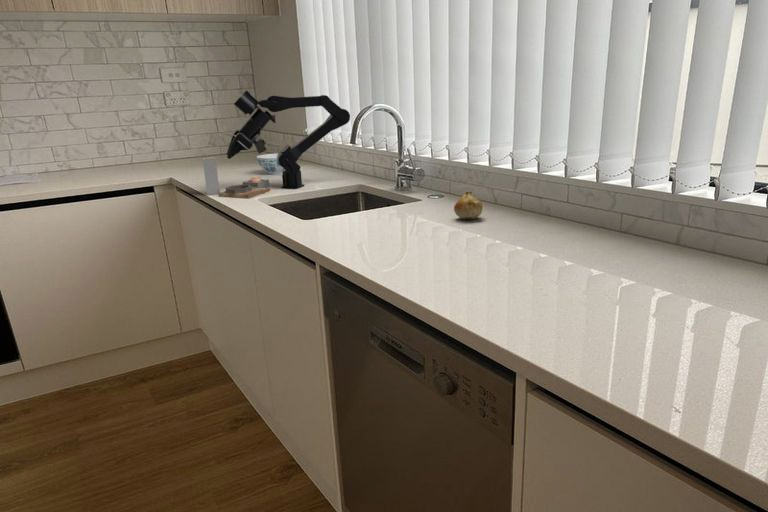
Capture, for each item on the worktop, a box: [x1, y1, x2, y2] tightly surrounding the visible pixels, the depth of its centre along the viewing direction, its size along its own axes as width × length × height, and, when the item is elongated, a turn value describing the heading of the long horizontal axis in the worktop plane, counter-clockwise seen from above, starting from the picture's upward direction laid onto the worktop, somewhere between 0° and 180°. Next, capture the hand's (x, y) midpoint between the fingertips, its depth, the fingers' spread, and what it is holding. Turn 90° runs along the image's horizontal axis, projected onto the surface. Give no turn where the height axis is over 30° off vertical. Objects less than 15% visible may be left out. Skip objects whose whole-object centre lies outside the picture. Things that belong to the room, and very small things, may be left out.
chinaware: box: [256, 153, 285, 176], centre depth 250 cm, size 15×15×8 cm
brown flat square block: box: [218, 184, 271, 199], centre depth 207 cm, size 13×13×3 cm
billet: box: [202, 156, 221, 196], centre depth 208 cm, size 4×4×13 cm
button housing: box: [242, 178, 270, 188], centre depth 219 cm, size 7×7×2 cm
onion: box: [453, 189, 483, 220], centre depth 159 cm, size 8×8×8 cm
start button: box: [249, 176, 262, 182], centre depth 219 cm, size 4×4×2 cm
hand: (227, 156), depth 207 cm, fingers open, 9 cm apart
